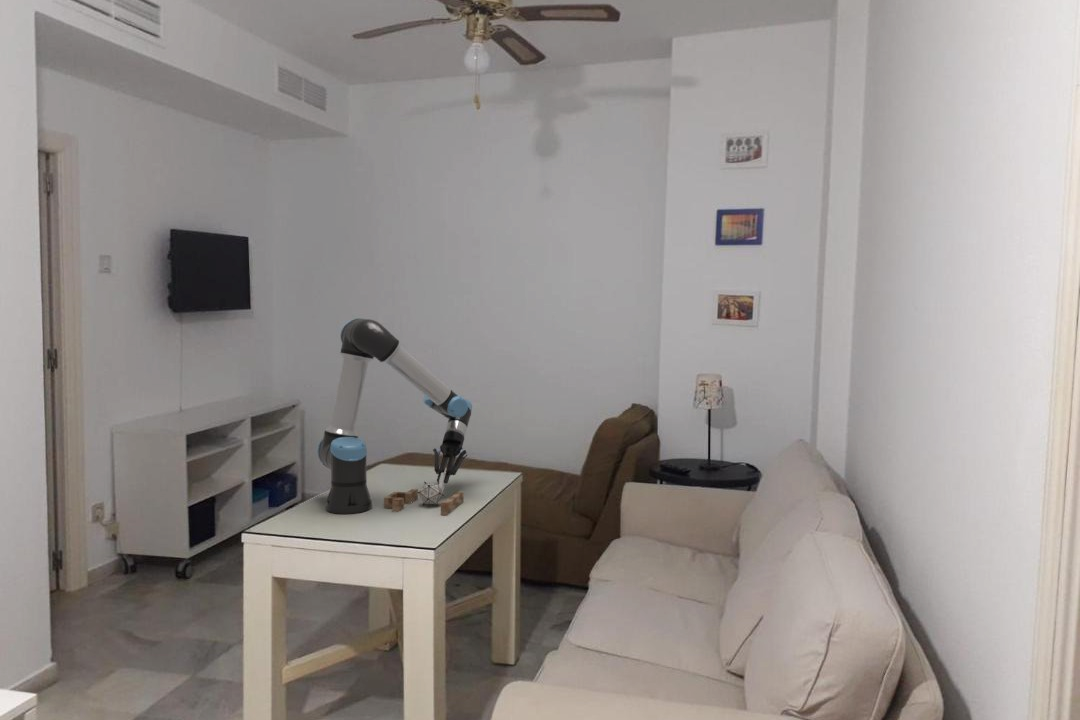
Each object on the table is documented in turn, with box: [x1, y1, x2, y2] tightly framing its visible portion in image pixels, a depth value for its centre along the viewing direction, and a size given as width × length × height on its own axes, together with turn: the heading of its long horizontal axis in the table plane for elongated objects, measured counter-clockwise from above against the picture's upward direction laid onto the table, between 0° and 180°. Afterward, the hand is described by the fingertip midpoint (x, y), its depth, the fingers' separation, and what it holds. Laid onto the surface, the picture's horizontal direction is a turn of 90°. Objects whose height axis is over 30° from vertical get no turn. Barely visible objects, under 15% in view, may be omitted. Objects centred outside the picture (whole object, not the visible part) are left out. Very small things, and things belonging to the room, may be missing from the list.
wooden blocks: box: [383, 488, 464, 516], centre depth 267 cm, size 18×24×4 cm
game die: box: [417, 481, 445, 507], centre depth 268 cm, size 9×8×10 cm
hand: (439, 490), depth 275 cm, fingers closed
